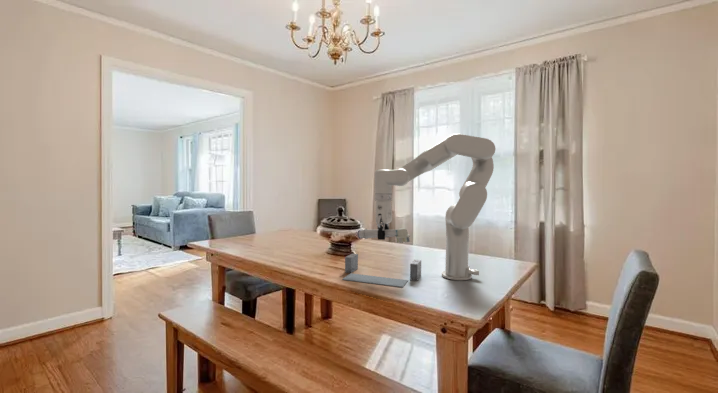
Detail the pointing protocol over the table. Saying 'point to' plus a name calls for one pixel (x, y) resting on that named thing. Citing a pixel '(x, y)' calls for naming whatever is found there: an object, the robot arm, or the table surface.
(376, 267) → the table surface
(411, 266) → the steel holder
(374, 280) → the rubber mat
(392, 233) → the mallet
